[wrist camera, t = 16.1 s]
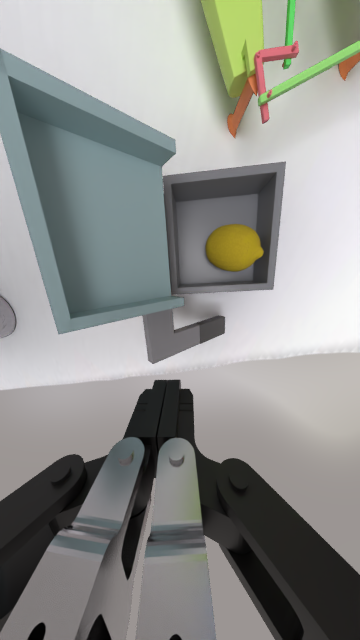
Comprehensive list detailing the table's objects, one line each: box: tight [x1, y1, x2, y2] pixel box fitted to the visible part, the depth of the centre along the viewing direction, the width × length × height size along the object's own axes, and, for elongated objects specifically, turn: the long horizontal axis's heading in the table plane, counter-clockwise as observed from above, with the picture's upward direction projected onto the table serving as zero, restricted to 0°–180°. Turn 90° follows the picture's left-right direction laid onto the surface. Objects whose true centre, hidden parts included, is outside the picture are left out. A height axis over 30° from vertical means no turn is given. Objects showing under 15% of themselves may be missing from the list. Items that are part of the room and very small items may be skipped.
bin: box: [163, 162, 286, 294], centre depth 22 cm, size 13×13×6 cm
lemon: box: [205, 224, 264, 272], centre depth 21 cm, size 6×6×8 cm
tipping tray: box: [0, 49, 225, 364], centre depth 16 cm, size 19×19×3 cm
